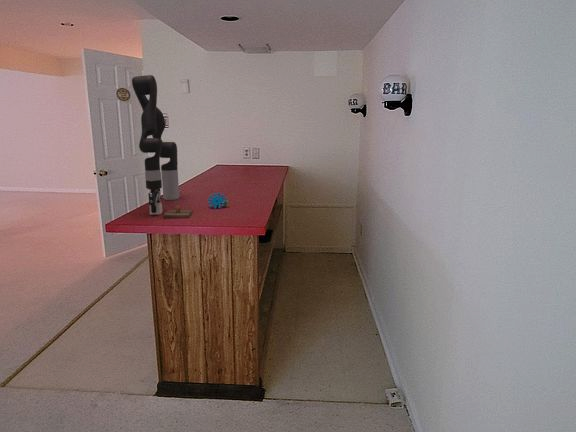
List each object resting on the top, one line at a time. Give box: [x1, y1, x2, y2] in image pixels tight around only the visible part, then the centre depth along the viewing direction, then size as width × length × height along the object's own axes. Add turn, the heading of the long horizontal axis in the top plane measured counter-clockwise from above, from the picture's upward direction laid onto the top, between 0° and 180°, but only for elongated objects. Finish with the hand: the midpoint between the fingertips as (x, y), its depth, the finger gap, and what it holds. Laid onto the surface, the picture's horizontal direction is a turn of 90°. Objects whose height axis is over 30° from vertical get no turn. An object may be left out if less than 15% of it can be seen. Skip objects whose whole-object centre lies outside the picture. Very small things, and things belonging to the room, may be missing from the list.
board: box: [162, 205, 193, 219], centre depth 202 cm, size 12×12×5 cm
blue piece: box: [207, 192, 229, 210], centre depth 220 cm, size 11×6×10 cm
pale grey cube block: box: [148, 202, 163, 215], centre depth 206 cm, size 5×5×5 cm
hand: (156, 210), depth 206 cm, fingers open, 8 cm apart
